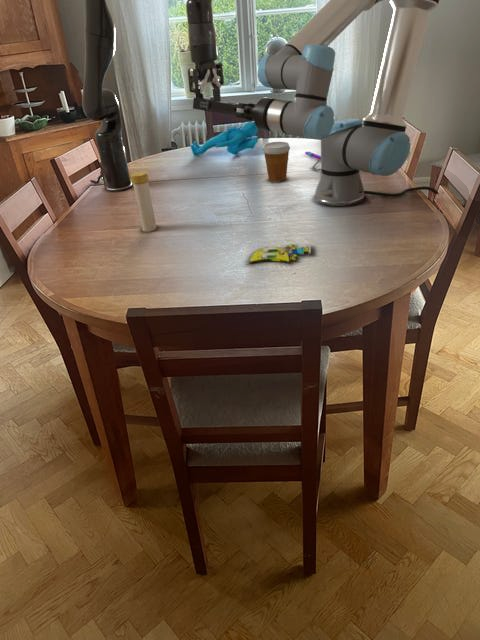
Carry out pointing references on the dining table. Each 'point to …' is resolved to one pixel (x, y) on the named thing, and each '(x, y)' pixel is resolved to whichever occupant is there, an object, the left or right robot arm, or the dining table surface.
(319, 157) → the checkered curved strip
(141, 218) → the white bottle
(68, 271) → the dining table surface
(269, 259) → the toy
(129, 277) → the dining table surface
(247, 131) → the toy
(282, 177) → the disposable coffee cup
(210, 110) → the right robot arm
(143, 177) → the lid
